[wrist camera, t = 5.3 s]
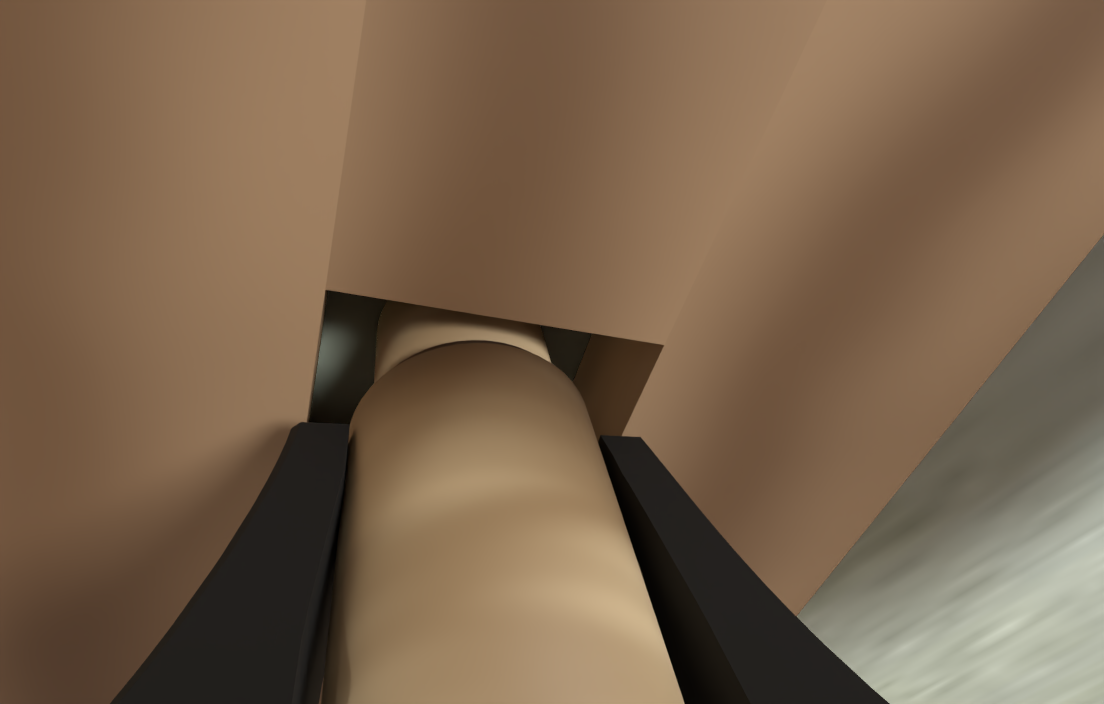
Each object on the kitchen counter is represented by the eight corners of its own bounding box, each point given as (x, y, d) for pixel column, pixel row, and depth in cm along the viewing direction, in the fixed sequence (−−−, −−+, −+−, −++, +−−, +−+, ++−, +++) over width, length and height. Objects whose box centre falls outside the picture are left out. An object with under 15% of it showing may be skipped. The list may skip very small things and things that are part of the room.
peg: (575, 260, 12) (779, 740, 5) (534, 417, 14) (651, 920, 7) (366, 234, 11) (311, 769, 5) (352, 406, 13) (296, 966, 6)
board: (1101, -1, 11) (1258, 40, 9) (684, 625, 19) (715, 717, 17) (-287, -571, 6) (-641, -771, 4) (-15, 602, 14) (-82, 726, 12)
